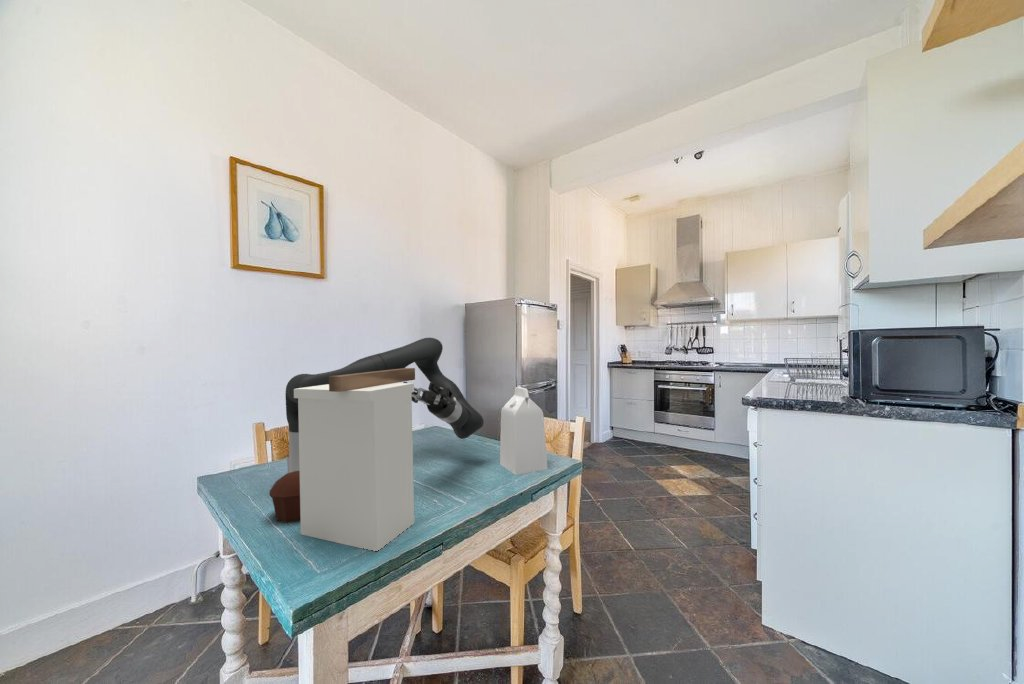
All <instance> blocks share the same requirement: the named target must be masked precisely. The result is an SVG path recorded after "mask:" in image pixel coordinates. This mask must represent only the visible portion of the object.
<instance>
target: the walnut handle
mask: <svg viewBox="0 0 1024 684" xmlns="http://www.w3.org/2000/svg"><path fill="white" fill-rule="evenodd" d="M414 380H416V368H415V367H405V368H401V369H392V370H383V371H374V372H365V373H355V374H346V375H337V376H329V391H332V392H342V391H348V390H355V389H361V388H367V387H373V386H379V385H385V384H392V383H403V382H409V381H414Z"/></svg>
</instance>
